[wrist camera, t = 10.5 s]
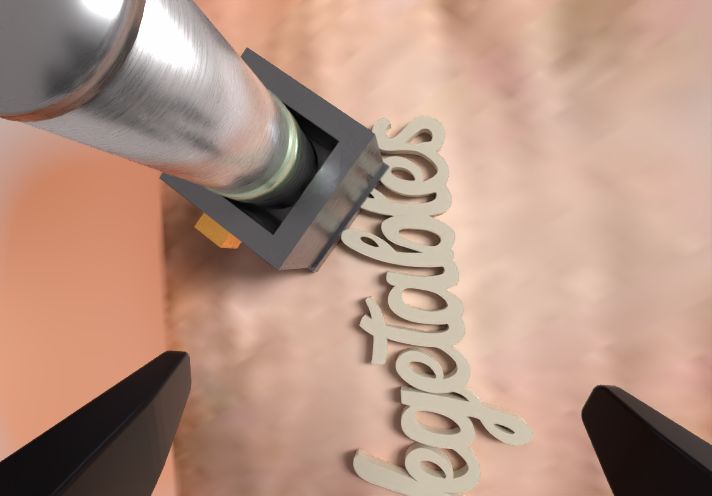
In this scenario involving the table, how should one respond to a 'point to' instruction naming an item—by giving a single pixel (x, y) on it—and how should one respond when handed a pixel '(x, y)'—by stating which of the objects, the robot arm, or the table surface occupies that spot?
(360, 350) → the table surface
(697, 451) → the robot arm
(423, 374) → the decorative sign
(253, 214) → the stand collar
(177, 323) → the table surface
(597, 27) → the table surface
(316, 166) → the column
